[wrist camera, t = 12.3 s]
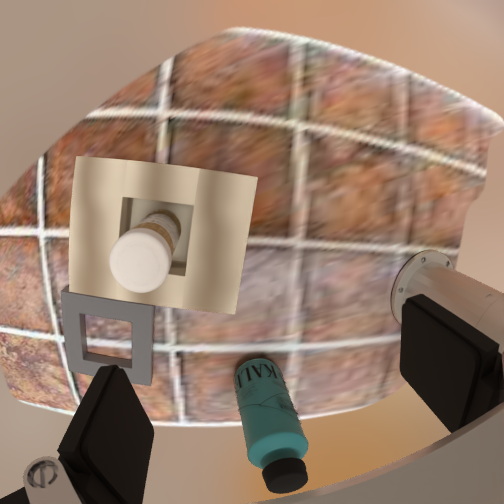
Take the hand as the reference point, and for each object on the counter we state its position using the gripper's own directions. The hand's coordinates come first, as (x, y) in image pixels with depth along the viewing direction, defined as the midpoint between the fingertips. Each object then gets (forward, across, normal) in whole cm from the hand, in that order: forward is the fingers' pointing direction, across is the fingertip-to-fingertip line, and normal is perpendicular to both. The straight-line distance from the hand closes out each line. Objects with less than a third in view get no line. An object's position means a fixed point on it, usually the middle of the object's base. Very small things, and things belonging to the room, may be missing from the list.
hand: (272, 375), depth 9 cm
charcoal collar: (+27, +19, +10) cm, 34 cm away
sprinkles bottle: (+26, +8, -2) cm, 28 cm away
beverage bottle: (+28, +1, +20) cm, 34 cm away
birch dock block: (+27, +8, -2) cm, 29 cm away
